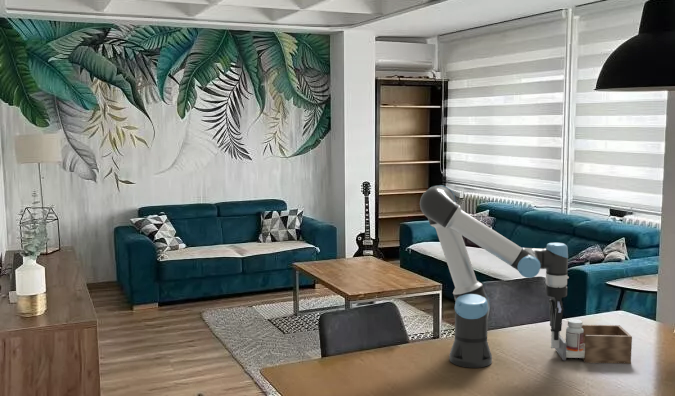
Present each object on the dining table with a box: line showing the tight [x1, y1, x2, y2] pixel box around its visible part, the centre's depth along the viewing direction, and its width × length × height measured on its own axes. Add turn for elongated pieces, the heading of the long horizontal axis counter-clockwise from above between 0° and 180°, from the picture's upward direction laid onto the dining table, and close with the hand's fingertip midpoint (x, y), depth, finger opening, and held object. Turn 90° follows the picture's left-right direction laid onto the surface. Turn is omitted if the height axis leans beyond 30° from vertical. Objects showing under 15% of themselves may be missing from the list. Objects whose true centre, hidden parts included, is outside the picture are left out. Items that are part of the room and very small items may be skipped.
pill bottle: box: [565, 318, 584, 352], centre depth 264 cm, size 6×6×11 cm
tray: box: [554, 334, 585, 361], centre depth 264 cm, size 16×13×6 cm
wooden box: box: [581, 324, 633, 365], centre depth 263 cm, size 16×14×10 cm
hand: (555, 347), depth 265 cm, fingers closed
